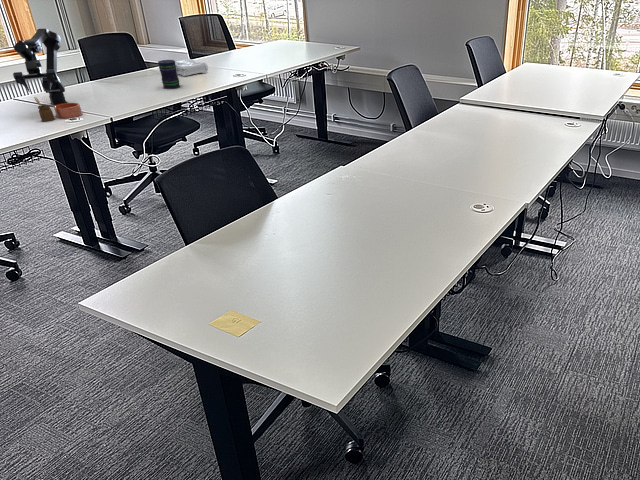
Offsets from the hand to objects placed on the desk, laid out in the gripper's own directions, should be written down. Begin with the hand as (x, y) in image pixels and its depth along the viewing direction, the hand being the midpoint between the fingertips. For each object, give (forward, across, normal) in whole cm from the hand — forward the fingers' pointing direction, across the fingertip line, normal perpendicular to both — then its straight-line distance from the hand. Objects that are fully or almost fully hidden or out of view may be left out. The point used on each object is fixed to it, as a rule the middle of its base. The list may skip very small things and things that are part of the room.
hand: (39, 90), depth 286 cm
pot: (+11, +10, +7) cm, 17 cm away
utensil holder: (+14, 0, +4) cm, 15 cm away
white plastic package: (-49, +82, +67) cm, 117 cm away
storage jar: (-19, +67, +37) cm, 79 cm away
